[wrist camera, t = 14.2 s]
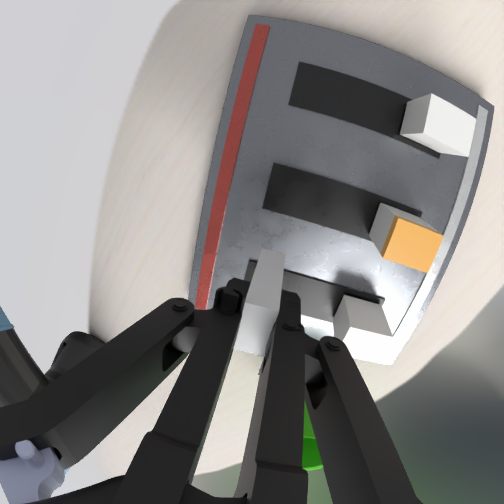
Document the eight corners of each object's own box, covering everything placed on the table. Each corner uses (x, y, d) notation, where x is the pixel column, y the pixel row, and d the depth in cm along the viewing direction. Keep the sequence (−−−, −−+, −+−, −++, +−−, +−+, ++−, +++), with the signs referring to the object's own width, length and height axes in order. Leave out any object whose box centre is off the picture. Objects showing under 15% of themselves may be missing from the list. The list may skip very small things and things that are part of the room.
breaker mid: (368, 235, 22) (382, 258, 18) (380, 202, 21) (398, 218, 17) (407, 248, 22) (427, 273, 18) (419, 217, 21) (443, 235, 16)
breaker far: (332, 320, 26) (335, 354, 22) (344, 294, 25) (350, 326, 20) (368, 329, 26) (376, 362, 21) (381, 304, 25) (393, 337, 20)
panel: (193, 301, 31) (185, 312, 29) (252, 22, 19) (248, 13, 17) (387, 354, 29) (391, 367, 27) (483, 107, 17) (495, 106, 15)
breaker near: (399, 134, 19) (423, 133, 14) (407, 102, 18) (431, 93, 13) (439, 152, 19) (468, 157, 14) (446, 121, 17) (476, 119, 13)
